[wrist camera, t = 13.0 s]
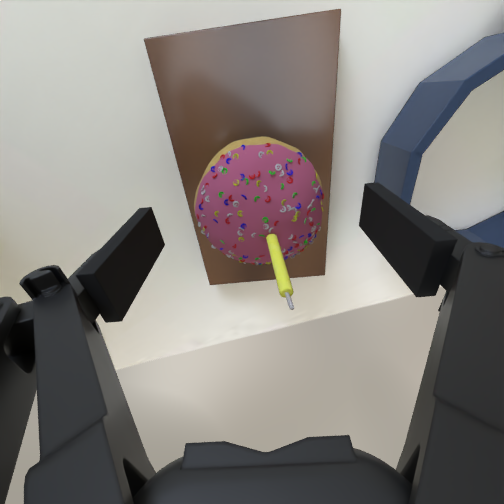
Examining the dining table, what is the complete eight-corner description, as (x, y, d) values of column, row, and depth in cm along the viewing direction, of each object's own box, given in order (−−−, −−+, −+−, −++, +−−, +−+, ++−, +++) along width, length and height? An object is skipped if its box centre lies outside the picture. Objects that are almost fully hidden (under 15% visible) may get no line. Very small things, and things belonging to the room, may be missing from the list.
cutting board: (211, 276, 27) (209, 285, 26) (151, 42, 16) (143, 38, 15) (321, 266, 27) (324, 275, 25) (334, 15, 16) (341, 8, 14)
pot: (362, 257, 26) (380, 285, 22) (399, 19, 16) (446, -3, 12) (519, 243, 25) (567, 270, 21) (666, -20, 15) (807, -57, 11)
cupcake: (330, 193, 20) (405, 291, 10) (252, 248, 23) (252, 366, 13) (265, 100, 17) (286, 114, 7) (183, 180, 20) (113, 271, 10)
